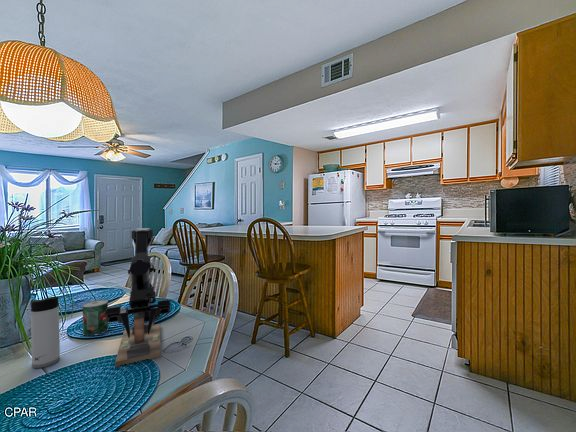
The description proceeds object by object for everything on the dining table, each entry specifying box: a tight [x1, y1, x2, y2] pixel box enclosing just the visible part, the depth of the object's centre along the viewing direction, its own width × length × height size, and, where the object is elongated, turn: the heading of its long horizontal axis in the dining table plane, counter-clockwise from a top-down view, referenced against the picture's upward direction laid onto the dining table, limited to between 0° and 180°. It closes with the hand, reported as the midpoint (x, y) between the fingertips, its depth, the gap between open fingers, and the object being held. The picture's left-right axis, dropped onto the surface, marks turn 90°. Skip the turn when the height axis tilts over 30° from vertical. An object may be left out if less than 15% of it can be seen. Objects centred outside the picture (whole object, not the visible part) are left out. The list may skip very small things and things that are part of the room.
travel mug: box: [30, 296, 61, 369], centre depth 80 cm, size 6×7×20 cm
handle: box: [130, 312, 149, 348], centre depth 85 cm, size 5×5×11 cm
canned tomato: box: [82, 299, 109, 336], centre depth 101 cm, size 8×8×11 cm
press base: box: [114, 322, 161, 368], centre depth 91 cm, size 24×12×4 cm, turn 26°
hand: (138, 335), depth 83 cm, fingers open, 5 cm apart
